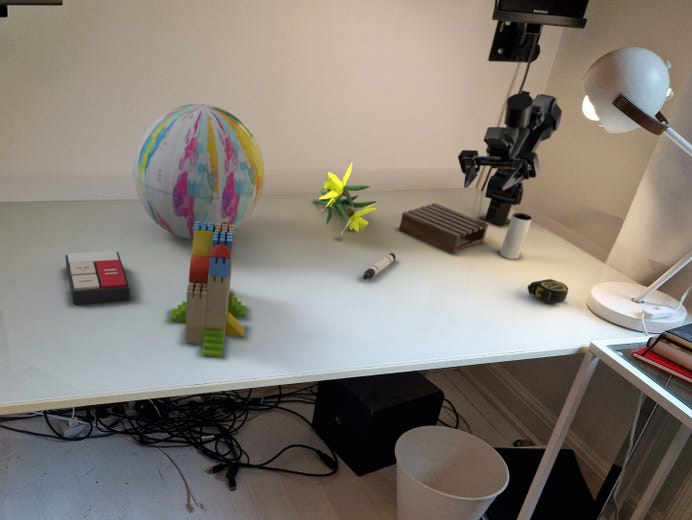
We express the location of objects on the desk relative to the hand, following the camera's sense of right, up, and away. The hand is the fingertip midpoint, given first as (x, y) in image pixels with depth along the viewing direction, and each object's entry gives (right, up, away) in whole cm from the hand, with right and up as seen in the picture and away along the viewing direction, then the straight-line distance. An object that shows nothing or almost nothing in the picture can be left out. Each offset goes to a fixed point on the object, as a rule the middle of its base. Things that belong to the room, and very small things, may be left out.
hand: (483, 188), depth 156 cm
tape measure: (+9, -28, -11) cm, 31 cm away
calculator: (-88, -26, -22) cm, 94 cm away
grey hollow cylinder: (+9, -15, +7) cm, 19 cm away
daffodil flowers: (-34, -5, +16) cm, 38 cm away
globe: (-69, -11, +2) cm, 70 cm away
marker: (-27, -21, -7) cm, 35 cm away
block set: (-64, -33, -29) cm, 78 cm away
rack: (-6, -9, +14) cm, 17 cm away
